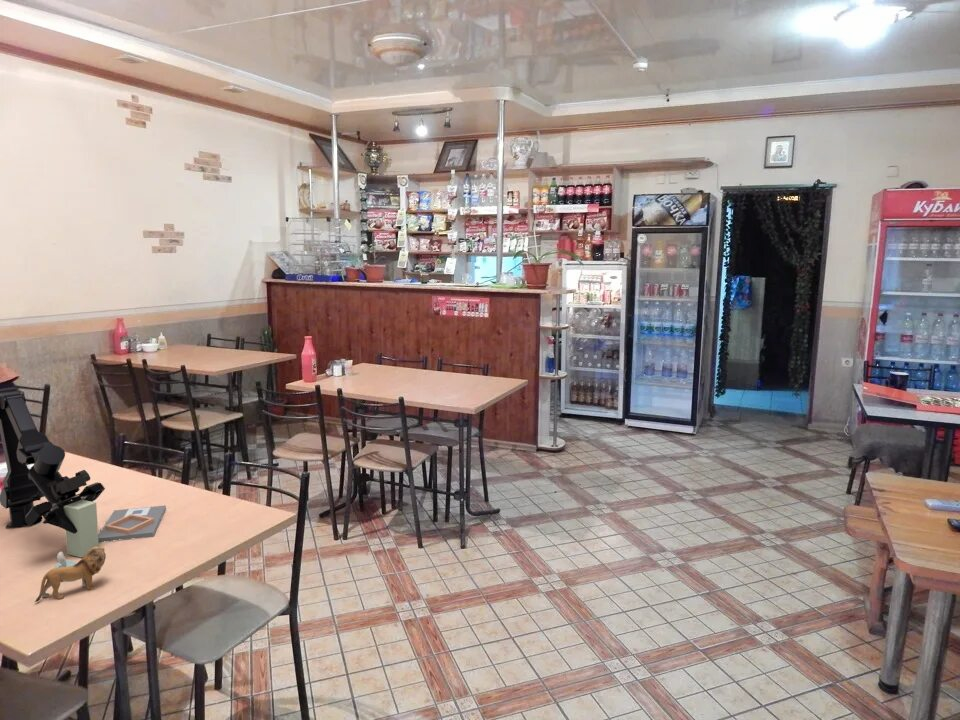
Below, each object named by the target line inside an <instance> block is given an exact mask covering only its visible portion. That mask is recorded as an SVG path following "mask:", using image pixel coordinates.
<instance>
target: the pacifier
mask: <svg viewBox="0 0 960 720" xmlns="http://www.w3.org/2000/svg"><path fill="white" fill-rule="evenodd" d="M56 560H57V563H56V564H55V565H54V568H57V567H69V566H73V565H75V564H77V563H76V562H75V561H73V560H69V559H66V556H65V555H64V552H63V551H59V552H58V553H57V555H56Z"/></svg>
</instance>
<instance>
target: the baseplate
mask: <svg viewBox="0 0 960 720" xmlns="http://www.w3.org/2000/svg"><path fill="white" fill-rule="evenodd" d="M166 510H167V506H166V505H156V506H145V507H138V508H135V507H134V508H125V509H117V510H113V512H112V513H111V515H110V516H109V518H108V519H107V521H106V522H105V524H104V525H103V527H102V529H101V530H100V531H99V532H98V541H99V543H105V542H104V541H108V542H114V541H113V540H117V541H120V540H119V539H126V540H132V539H131V538H135V539H142V538H143V537H144V538H152V537H153V536H154V537H155V534H156V532H157V531H158V528H159V525H160V523H161V521H162V519H163V516H164V514H165V512H166ZM130 514H134V515H139V516H144V517H150V518H154V523H152V524H150V525H148V526H146V527H144V528H141V529H139V530H137V531H135V532H133V533H131V534H129V535H128V534H123V533H118V532H113V531H108V530H105V526H106V525H108V524H110V523H112V522H114V521H117V520H119V519H121V518H123V517H125V516H128V515H130ZM142 522H143V521H137V520H132V519H131V520H129V521H126V522H124V523H122V524H120V525H118V526H117V527H122V528H127V529H130V528H132V527H134V526H136V525H138V524H140V523H142ZM144 538H143V539H144Z"/></svg>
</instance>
